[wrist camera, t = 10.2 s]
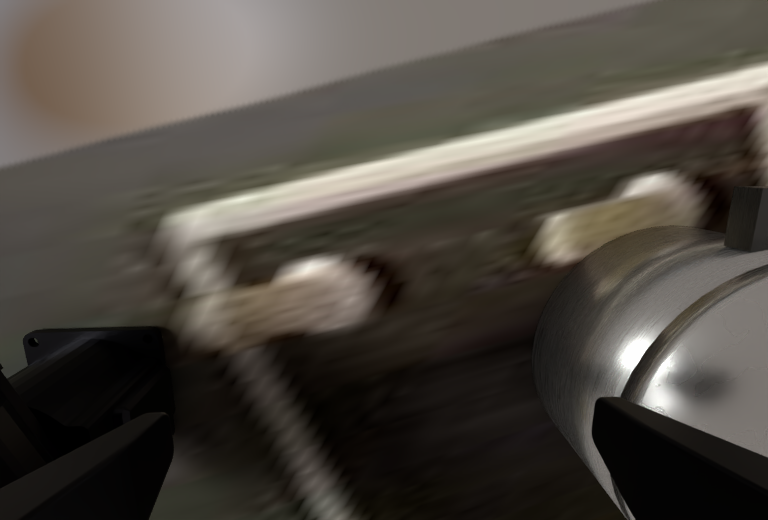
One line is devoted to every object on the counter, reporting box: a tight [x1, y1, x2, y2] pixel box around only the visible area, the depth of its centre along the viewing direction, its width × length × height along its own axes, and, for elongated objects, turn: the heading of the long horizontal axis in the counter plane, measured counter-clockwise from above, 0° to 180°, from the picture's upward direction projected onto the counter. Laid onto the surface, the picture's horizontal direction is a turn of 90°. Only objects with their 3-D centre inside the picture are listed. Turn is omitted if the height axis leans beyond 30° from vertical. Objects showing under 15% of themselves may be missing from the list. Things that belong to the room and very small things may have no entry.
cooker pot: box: [532, 186, 768, 520], centre depth 20 cm, size 14×19×7 cm
